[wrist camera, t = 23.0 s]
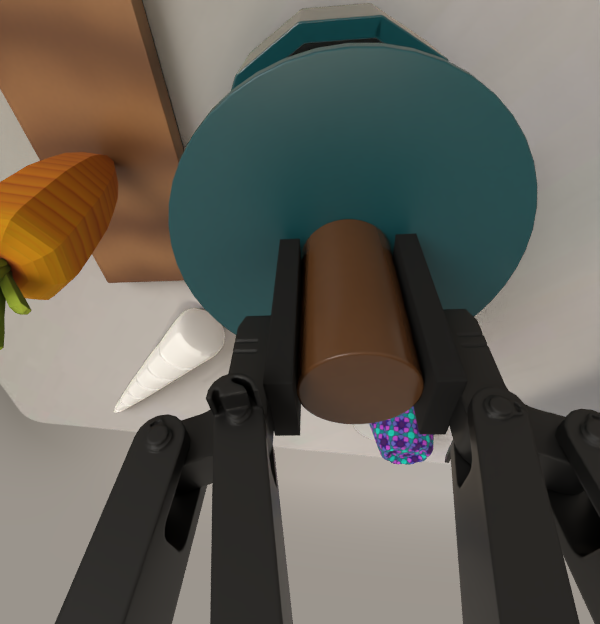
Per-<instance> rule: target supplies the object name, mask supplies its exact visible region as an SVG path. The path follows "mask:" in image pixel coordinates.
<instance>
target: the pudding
mask: <svg viewBox="0 0 600 624" xmlns="http://www.w3.org/2000/svg"><path fill="white" fill-rule="evenodd" d="M353 427H354V428H355V430H356V431H357V432H358V433H359V434H361V435H362V436H364V437H366V438H368V439H371V440H375V441H376V443H377V446H378V448H379V451H380V454H381V456H382V457H383V458H384V459H385V460H387V461H390V462H391V463H394V464H414V463H416V462H421V461H424V460H425V459H427V457H428V456H430V455H431V453H432V451H433V435H434V434H419V430H418V425H417V421H416V416H415V411H414V407H412V408H411V409H409V410H408V411H406V412H404V413H403V414H401V415H399V416H396V417H394V418H391V419H388V420H385V421H381V422H376V423H369V424H353Z"/></svg>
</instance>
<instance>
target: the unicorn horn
mask: <svg viewBox="0 0 600 624" xmlns="http://www.w3.org/2000/svg"><path fill="white" fill-rule="evenodd" d="M224 341H225V333H224V328H223V326H222V325H221V324H220V323H219V322H218V321H217V320H216V319H215V318H214V317H212V316H211V315H210V314H209V313H208V312H207V311H205V310H201V309H196V308H192V309H189V310H186V311H184V312H183V313H182V314H181V315H180V316H179V317H178V318H177V319H176V321H175V322H174V323H173V325H172V326H171V327H170V329H169V330H168V332H167V333H166V334H165V336H164V337H163V339H162V340H161V342H159V344H158V345H157V346H156V348H155V349H154V350H153V351H152V353H151V354H150V355H149V357H148V358H147V360H146V361H145V363H144V364H143V366H142V367H141V368H140V370H139V371H138V373H137V374H136V375H135V377H134V378H133V380H132V381H131V382H130V384H129V386H128V387H127V388H126V390H125V392H124V393H123V395H122V396H121V398H120V400H119V401H118V403H117V405H116V407H115V409H116V410H114V413H118V412H121V411H123V410H125V409H127V408H129V407H131V406H132V405H134V404H136V403H138V402H140V401H141V400H143V399H145V398H146V397H148V396H150V395H152V394H153V393H155V392H157V391H158V390H160V389H162V388H163V387H165V386H166V385H168V384H170V383H171V382H173V381H175V380H176V379H178V378H179V377H181V376H183V375H184V374H186V373H188V372H189V371H191V370H193V369H194V368H196V367H197V366H199V365H201V364H202V363H204V362H206V361H207V360H209V359H211V358H212V357H214V356H215V355H216V354H217V353H218V352H219V351H220V350H221V349H222V347H223V345H224Z"/></svg>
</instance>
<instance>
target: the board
mask: <svg viewBox="0 0 600 624" xmlns="http://www.w3.org/2000/svg"><path fill="white" fill-rule="evenodd" d="M0 89H1V91H2V93H3V94H4V96H5V98H6V100H7V102H8V103H9V105H10V107H11V109H12V111H13V112H14V114H15V116H16V118H17V120H18V121H19V123H20V125H21V127H22V129H23V130H24V132H25V134H26V136H27V138H28V139H29V141H30V143H31V145H32V147H33V148H34V150H35V152H36V154H37V156H38V157H39V159H40V161H41V160H44V159H47V158H50V157H53V156H56V155H60V154H63V153H72V152H86V153H93V154H101V155H107V156H108V157H109V158H111V159H112V160H113V161H114V165H115V170H116V175H117V180H118V199H117V203H116V206H115V210H114V213H113V216H112V218H111V221H110V223H109V226H108V229H107V230H106V232H105V234H104V235H103V237H102V239H101V240H100V242H99V244H98V245H97V247H96V248H95V250H94V251H93V253H92V255H93V257H94V258H95V260H96V262H97V264H98V266H99V267H100V269H101V271H102V273H103V275H104V276H105V278H106V280H107V282H108V283H118V282H148V281H178V280H184V279H183V276H182V274H181V272H180V270H179V268H178V266H177V263H176V260H175V256H174V253H173V250H172V246H171V240H170V233H169V226H168V213H169V199H170V193H171V187H172V181H173V178H174V176H175V173H176V170H177V167H178V164H179V161H180V158H181V156H182V155H183V153H184V149H183V146H182V142H181V138H180V135H179V131H178V128H177V124H176V121H175V117H174V113H173V110H172V106H171V103H170V99H169V96H168V92H167V88H166V85H165V81H164V78H163V74H162V71H161V67H160V64H159V60H158V56H157V53H156V49H155V46H154V42H153V39H152V35H151V31H150V28H149V24H148V21H147V17H146V14H145V10H144V6H143V3H142V0H0Z"/></svg>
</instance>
